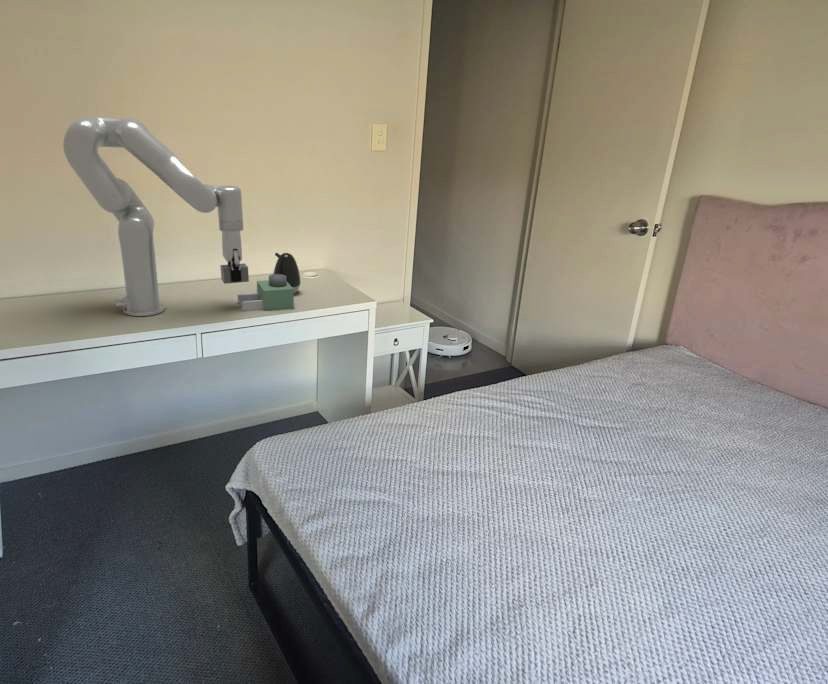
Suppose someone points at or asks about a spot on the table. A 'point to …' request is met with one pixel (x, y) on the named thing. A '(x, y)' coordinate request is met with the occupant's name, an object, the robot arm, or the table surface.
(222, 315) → the table surface
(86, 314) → the table surface
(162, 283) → the table surface
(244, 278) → the dark gray block
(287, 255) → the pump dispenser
